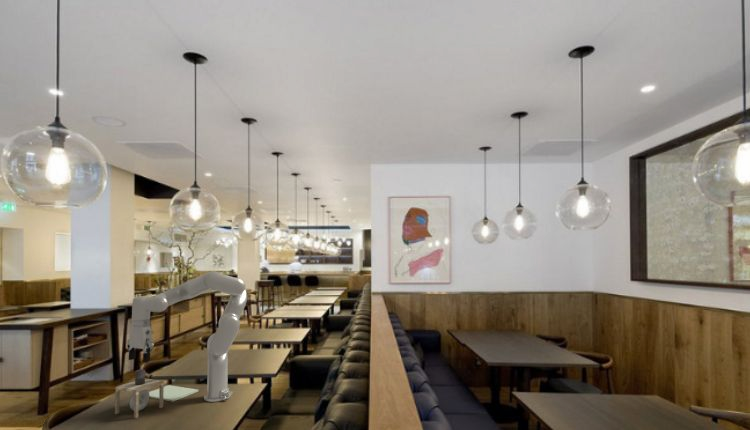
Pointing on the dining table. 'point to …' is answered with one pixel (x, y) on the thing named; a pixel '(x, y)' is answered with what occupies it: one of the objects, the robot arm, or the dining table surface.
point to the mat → (172, 393)
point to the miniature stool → (138, 390)
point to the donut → (143, 401)
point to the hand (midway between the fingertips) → (139, 360)
